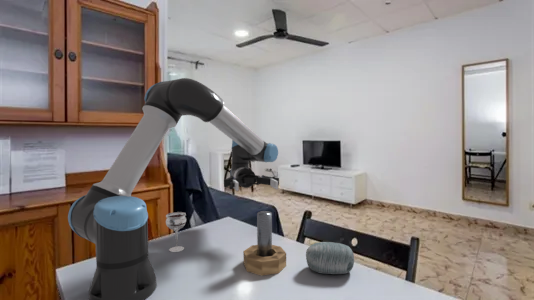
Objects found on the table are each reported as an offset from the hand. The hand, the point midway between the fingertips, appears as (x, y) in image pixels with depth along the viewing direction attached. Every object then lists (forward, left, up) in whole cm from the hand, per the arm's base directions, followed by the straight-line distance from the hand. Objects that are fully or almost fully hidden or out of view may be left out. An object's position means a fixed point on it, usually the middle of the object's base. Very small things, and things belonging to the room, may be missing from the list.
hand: (257, 186), depth 95 cm
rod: (0, -10, -22) cm, 25 cm away
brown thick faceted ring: (0, -10, -22) cm, 25 cm away
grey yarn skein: (+17, -19, -23) cm, 34 cm away
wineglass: (-26, +10, -23) cm, 36 cm away
